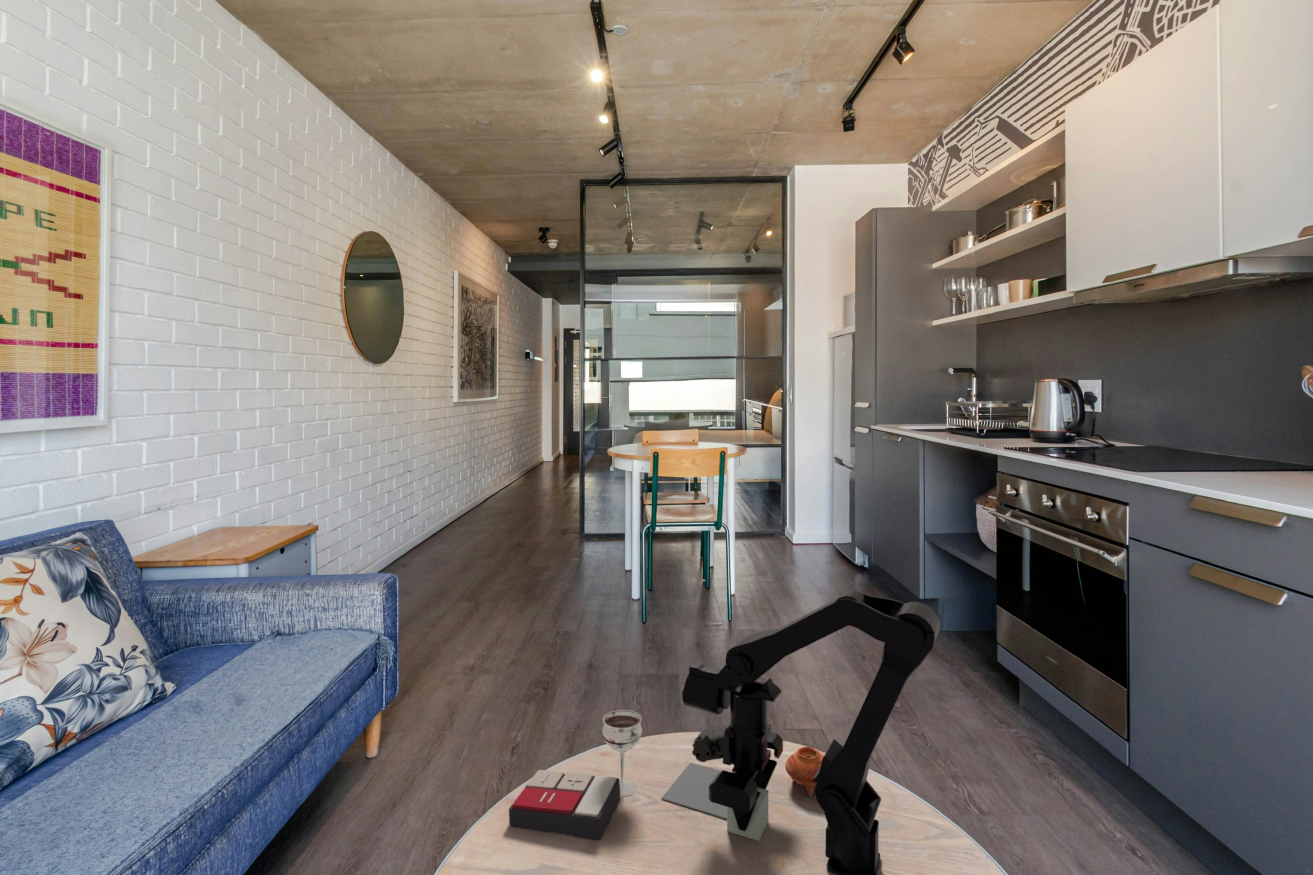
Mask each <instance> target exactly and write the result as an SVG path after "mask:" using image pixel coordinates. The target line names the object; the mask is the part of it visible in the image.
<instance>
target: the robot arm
mask: <svg viewBox="0 0 1313 875" xmlns="http://www.w3.org/2000/svg"><path fill="white" fill-rule="evenodd" d="M849 626H850V627H852V628H856V629H858V630H859V631H861V632H863V633H864V634H866V635H868V636H870V637H871V638H873V639H875V640H877V641H880V642H882V643H884V644H883V649H882V656H881V663H880V667H879V668H878V671H877V673H876V674H875V677H874V680H873V681H872V684H871V686H870V688H869V691H868V692H867V695H866V696H865V699H864V701H863V703H862V705H861V707H860V710H859V712H858V715H856V718H855V721H854V723H853V725H852V727H851V729H850V732H849V734H848V736H847V737H846V740H845V741H844V742H843V743H842V744H840V742H838V741H837V740H836V739H833V740H832V741H831V743H830V745H829V747H828V748H827V750H826V751H825V754H823V755H824V757H823V759H822V763H821V766H820V767H819V769H818V771H817V773H816V774H815V776H814V778H813V780H812V781H813V782H816V783H817V784H816V786H815V788H814V791H813V793H814V794H813V795H814V796H813V797H815V799H816V802H817V804H818V805H819V807H820V808H821V810H822V811H823V814H824V817H825V820H826V822H827V823H826V824H827V825H826V828H825V852H824V853H825V857H826V858H828V860H827V863H826V870H827V871H829V872H831V873H834V874H837V875H878V872H879V866H880V861H881V853H879V832H880V831H879V828H880V827H879V825H880V824H879V820H878V819H875V818H876V816H877V813H878V810H879V807H880V804H881V801H882V797H881V796H880V794H879V793H878V792H877V791H876V790H875V789H874V788H873V786H872V785H871V784H870V783H869V781H868V780H867V778H868V774H869V770H870V764H871V760H872V759H871V758H872V753H873V751H874V749H875V747H876V745H877V743H878V740H879V739H880V737H881V734H882V733H883V730H884V728H885V726H886V724H887V722H888V719H890V718H889V717H890V715H891V713H892V711H893V709H894V708H895V705H896V702H897V701H898V699H899V697H900V694H901V692H902V691H903V689H904V685H906V682H907V681H908V680H909V678H910V677H911V675H913V673H914V672H915V671H916V670H917V669H918V668H919V667H920V666H921V664H922V663H923V661H924V660H925V659H926V658H927V656H929V654H930V652H931V651H932V650H933V648H934V646H935V642H936V640H937V637H938V635H939V632H940V628H941V620H940V618H939V617H938V615H937V612H935V610H933V608H932V607H930V606H929V605H927V604H925V603H922V602H920V601H910V602H903V601H901V600H897V599H893V598H890V597H889V598H888V597H883V596H882V597H881V596H876V595H870V594H867V593H863V592H860V591H857V590H856V589H855V590H854V589H853V590H852V589H850V590H847V591H844V592H843V593H842V594H841V595H840V596H838V597H836V598H835V599H833V600H831V601H829V602H827V603H825V604H823V605H821V606H820V607H818V608H815V609H814V610H811V611H810V612H808V613H806V614H803V615H802V616H800V617H798V618H797V619H795V620H792V621H791V622H789V623H787V624H785V625H783V626H781V627H778V628H774V629H769V630H762V631H759V632H756V633H752V634H748V635H746V636H745V637H743V638H742V639H741V640H740V641H738V642H737V643H736V644H735V645H734V646H732V647H731V648H730V649H728V651H727V652H726V654H725V665H724V666H723V667H722V668H721V669H720V668H715V667H711V666H707V665H704V664H702V663H699V662H694V663H693V664H691V665H690V666H688V674H687V677H686V679H685V680H684V681H685V682H684V686H683V689H682V692H681V693H682V694H681V695H682V702H683V704H684V705H685V706H686V707H688V708H692V709H697V710H700V711H704V712H708V713H711V714H716V715H721V714H722V713H723V712H724V710H728V709H729V707H730V711H729V721H730V722H729V725H728V726H718V727H712V728H707V729H704V730H702V731H700V733H699V734H698V735H697V737H696V738H695V739H694V740H693V743H692V748H693V750H692V751H691V753H692V755H693V756H694V757H695V759H696V761H698V762H700V763H705V762H707V761H714V760H721V759H722V764H723V765H727V766H731V765H733V767H732V769H731V771H729V770H728V771H727V770H724V769H722V770H720V771H721V772H720V773H718V774H717V775H716V777H715V778H714V780H713V781H712V782H711V784H710V785H709V800H710V801H711V802H713V803H716V804H720V805H723V806H726V807H730V808H732V809H733V812H734V815H735V819H736V822H737V825H738V828H739V830H742V831H746V829H747V827H748V825H749V822H750V820H751V817H752V814H753V812H754V809H755V807H756V804H757V802H758V799H759V797H760V794H761V792H758V791H757V787H758V788H761V789H765V790H767V787H768V786H769V784H770V783H769V782H770V781H771V778H772V776H773V774H774V771H775V769H776V767H777V765H778V761H777V760H774V759H771V757H772V750H773V756H774V758H775V759H780V757H781V756H782V753H783V751H784V739H783V738H782V737H781V736H780V734H778V733H777V732H772V724H771V723H768V712H769V711H768V705H769V704H768V703H769V702H771V703H773V702H775V700H776V699H777V698H778V697H779V696H780V695H781V694H782V689H780V687H779V686H778V685H777V684H776V683H774V682H773V680H772V679H771V678H768V679H767V680H766V681H764V682H763V681H759V680H758V679H760V678H761V677H762V676H764V675H765V674H766V673H767V672H768V671H769V670H771V669H772V668H773V667H774V666H775V665H777V664H778V663H779V662H780V661H781V660H783V659H784V658H785V657H787V656H789V655H791V654H794V653H795V652H797V651H799V650H802V649H803V648H805V647H808V646H809V645H812V644H813V643H814V644H815V643H816V642H818V641H819V640H822V639H823V638H826V637H827V636H829V635H832V634H833V633H835V632H838V631H840V630H842V629H844V628H846V627H849Z"/></svg>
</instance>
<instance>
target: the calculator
mask: <svg viewBox="0 0 1313 875" xmlns="http://www.w3.org/2000/svg"><path fill="white" fill-rule="evenodd" d="M545 772H546V773H545ZM532 780H533V781H532ZM620 780H621V779H620V778H618V777H615V776H605V775H604V776H603V775H601V776H600V775H593V774H591V773H582V772H581V773H579V772H571V771H570V772H566V773H564V771H558V770H557V771H556V770H546V769H538V770H537V771H536V773H535V774H533V776H532V777H531V779H530V780H529V781H528V783H527V784H526V786H525V787H524V788H523V790H522V791H521V792H520V794H519V795H518V796H517V798H516V799H515V800H514V801H513V803H512V804H511V806H510V807H509V809H508V820H509V827H511V828H518V829H523V830H528V831H529V830H531V831H536V832H543V833H550V834H559V835H561V834H562V835H568V836H572V837H574V838H578V839H585V840H589V841H596V842H597V841H598V842H600V841H602V839H603V837H604V835H605V833H606V831H607V828H608V826H609V824H610V822H611V820H612V818H613V816H614V815H615V814H614V813H615V811H616V810H617V807H618V806H619V803H620V801H621V797H620Z"/></svg>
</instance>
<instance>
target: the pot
mask: <svg viewBox="0 0 1313 875" xmlns="http://www.w3.org/2000/svg"><path fill="white" fill-rule="evenodd" d="M824 755H825V754H823V753H820V752H819V750H817V749H815V748H814V747H810V746H803V747H800V748H798V749H797V751H795V752H794V753H792V754H791V755H790V756H789V757H788V759H787V760H786V762H785V766H784V767H785V770H786V772H787V774H788V776H789V777H790V778H791V780H792V781H793V782H796V783H797V784H799V785H802V786H805V787H806V790H807V793H808V796H809V797H812V796H813V795H814V794H813V793H814V790H815V786H816V784H817V783H816V782H813V781H812V780H813V778H814V776H815V774H816V773H817V771H818V769H819V767H820V766H821V763H822V759H823V757H824Z"/></svg>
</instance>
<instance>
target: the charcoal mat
mask: <svg viewBox="0 0 1313 875" xmlns="http://www.w3.org/2000/svg"><path fill="white" fill-rule="evenodd" d="M721 771H722V770H719V769H715V768H711V767H709V766H705V765H701V764H697V763H695V762H694V763H693V762H689V764H688V765H687V766H686V767H685V768H684V769H683V771H682V773H680V774H679V776H678V777H677V778H676V780H675V781H674V782H673V783H672V784H671V786H670V787H669V789H667V791H666V792H665V793H664V794H663V795H662V797H661V800H664V801H666V802H668V803H672V804H676V805H679V806H682V807H685V808H688V809H692V810H695V811H698V812H702V813H704V814H707V815H711V816H715V817H717V818H721V819H724V820H727V807H726V806H723V805H720V804H716V803H713V802H711V801H710V800H709V785H710V784H711V782H712V781H713V780H714V778H715V777H716V775H717V774H718V773H720V772H721Z"/></svg>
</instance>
